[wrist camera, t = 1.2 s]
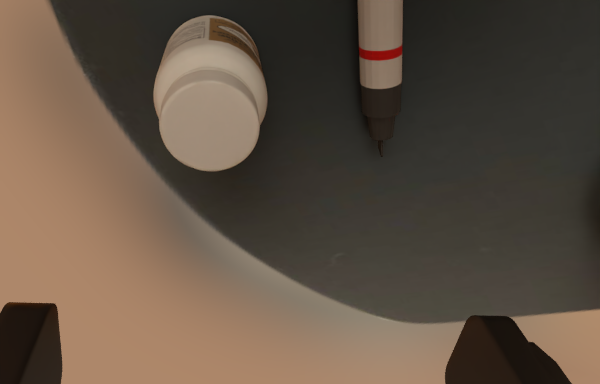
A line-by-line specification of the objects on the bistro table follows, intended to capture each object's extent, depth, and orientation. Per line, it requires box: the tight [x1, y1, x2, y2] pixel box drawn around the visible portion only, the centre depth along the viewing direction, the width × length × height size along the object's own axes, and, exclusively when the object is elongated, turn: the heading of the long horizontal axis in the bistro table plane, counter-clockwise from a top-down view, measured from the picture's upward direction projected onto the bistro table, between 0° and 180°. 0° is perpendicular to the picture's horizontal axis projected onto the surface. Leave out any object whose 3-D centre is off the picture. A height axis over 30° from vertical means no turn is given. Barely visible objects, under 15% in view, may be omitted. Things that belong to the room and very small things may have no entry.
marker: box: [358, 0, 403, 157], centre depth 23 cm, size 15×2×2 cm, turn 5°
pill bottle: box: [154, 15, 267, 171], centre depth 21 cm, size 4×4×8 cm
